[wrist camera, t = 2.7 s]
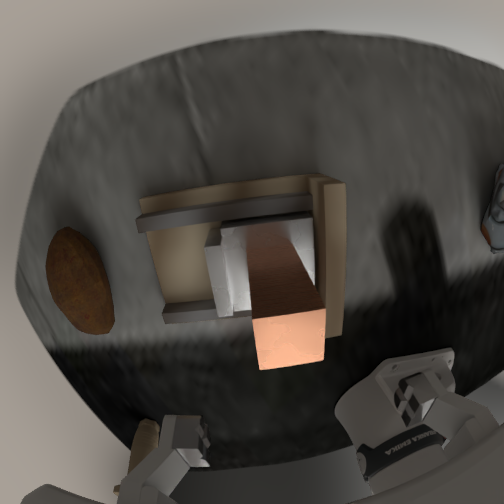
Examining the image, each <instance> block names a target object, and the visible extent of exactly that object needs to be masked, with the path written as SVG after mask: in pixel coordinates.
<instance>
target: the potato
mask: <svg viewBox="0 0 504 504" xmlns="http://www.w3.org/2000/svg"><path fill="white" fill-rule="evenodd" d="M46 274H47V281H48V285H49V290H50V292H51V295H52V298H53V300H54V302H55V303H56V305H57V306H58V307H59V309H60V310H61V311H62V312H63V313H64V315H65V316H66V317H67V318H68V320H69V321H70V322H71V323H72V324H73V325H74V326H75V327H76V328H77V329H78V330H80V331H82V332H84V333H88V334H94V335H100V334H107V333H109V332H110V330H111V328H112V327H113V325H114V322H115V317H114V305H113V300H112V294H111V290H110V285H109V281H108V278H107V275H106V272H105V269H104V266H103V263H102V260H101V258H100V256H99V254H98V252H97V250H96V249H95V247H94V246H93V245H92V243H91V242H90V241H89V240H88V239H87V238H85V237H84V236H83V235H82V234H81V233H80V232H78V231H76V230H74V229H72V228H70V227H64V228H63V229H61V230H59V231H57V233H56V234H55V235H54V237H53V239H52V241H51V243H50V245H49V248H48V253H47V259H46Z"/></svg>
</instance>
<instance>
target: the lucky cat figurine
mask: <svg viewBox="0 0 504 504" xmlns="http://www.w3.org/2000/svg"><path fill="white" fill-rule="evenodd" d="M481 232H482V234H483V236H484V237H485V239H486V241H487V242H488V244H489V245H490V247H491V250H490V251H491V252H492V253H493V254H495V253H504V163H503V164H500V165H499V170H498V171H497V172H496V178H495V186H494V190H493V194H492V197H491V201H490V204H489V206H488V208H487V211H486V213H485V216H484V219H483V222H482V225H481Z"/></svg>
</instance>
